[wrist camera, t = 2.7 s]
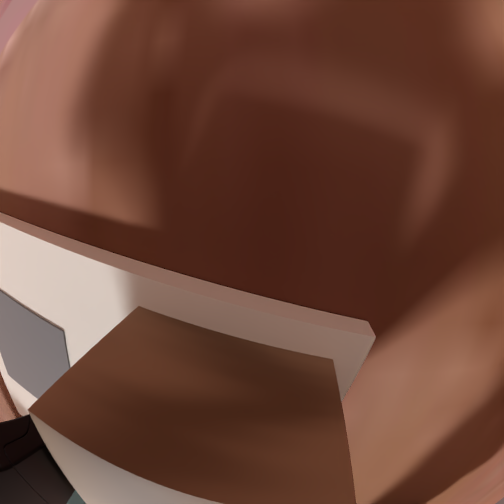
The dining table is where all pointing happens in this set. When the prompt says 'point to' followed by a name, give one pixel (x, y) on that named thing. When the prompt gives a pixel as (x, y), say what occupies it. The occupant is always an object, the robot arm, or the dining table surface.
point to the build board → (125, 301)
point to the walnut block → (196, 420)
